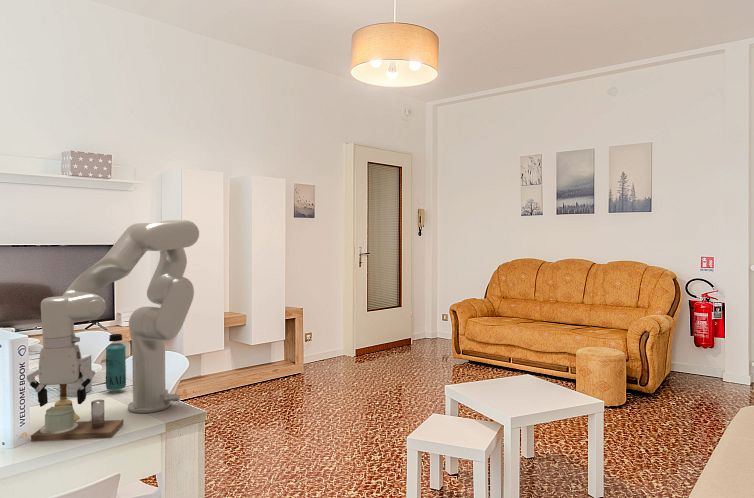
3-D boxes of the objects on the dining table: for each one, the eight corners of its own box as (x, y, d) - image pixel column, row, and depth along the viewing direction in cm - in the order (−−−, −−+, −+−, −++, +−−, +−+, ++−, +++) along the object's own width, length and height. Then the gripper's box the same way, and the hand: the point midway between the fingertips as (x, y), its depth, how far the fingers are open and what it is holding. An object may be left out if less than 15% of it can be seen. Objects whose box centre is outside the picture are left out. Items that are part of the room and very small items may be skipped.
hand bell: (86, 416, 166) (85, 363, 166) (64, 426, 158) (63, 370, 158) (62, 414, 168) (62, 362, 168) (40, 423, 160) (39, 368, 160)
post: (106, 424, 155) (105, 399, 155) (102, 428, 152) (101, 402, 152) (94, 424, 155) (93, 399, 155) (89, 428, 152) (89, 403, 151)
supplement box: (81, 396, 187) (80, 359, 186) (59, 396, 187) (58, 358, 186) (92, 390, 194) (92, 354, 194) (71, 390, 194) (70, 354, 194)
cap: (77, 422, 156) (76, 402, 156) (67, 430, 150) (67, 410, 149) (52, 423, 155) (52, 403, 155) (41, 431, 149) (41, 411, 149)
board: (123, 424, 159) (123, 419, 159) (111, 437, 149) (110, 431, 149) (48, 428, 157) (48, 422, 156) (31, 441, 147) (30, 434, 147)
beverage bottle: (113, 388, 196) (112, 332, 195) (130, 389, 195) (129, 332, 194) (101, 394, 189) (100, 335, 189) (119, 395, 188) (118, 336, 188)
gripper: (97, 337, 157) (100, 397, 158) (31, 340, 154) (35, 401, 155) (87, 343, 149) (90, 406, 150) (17, 347, 147) (21, 410, 148)
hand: (62, 403), depth 153 cm, fingers open, 9 cm apart
